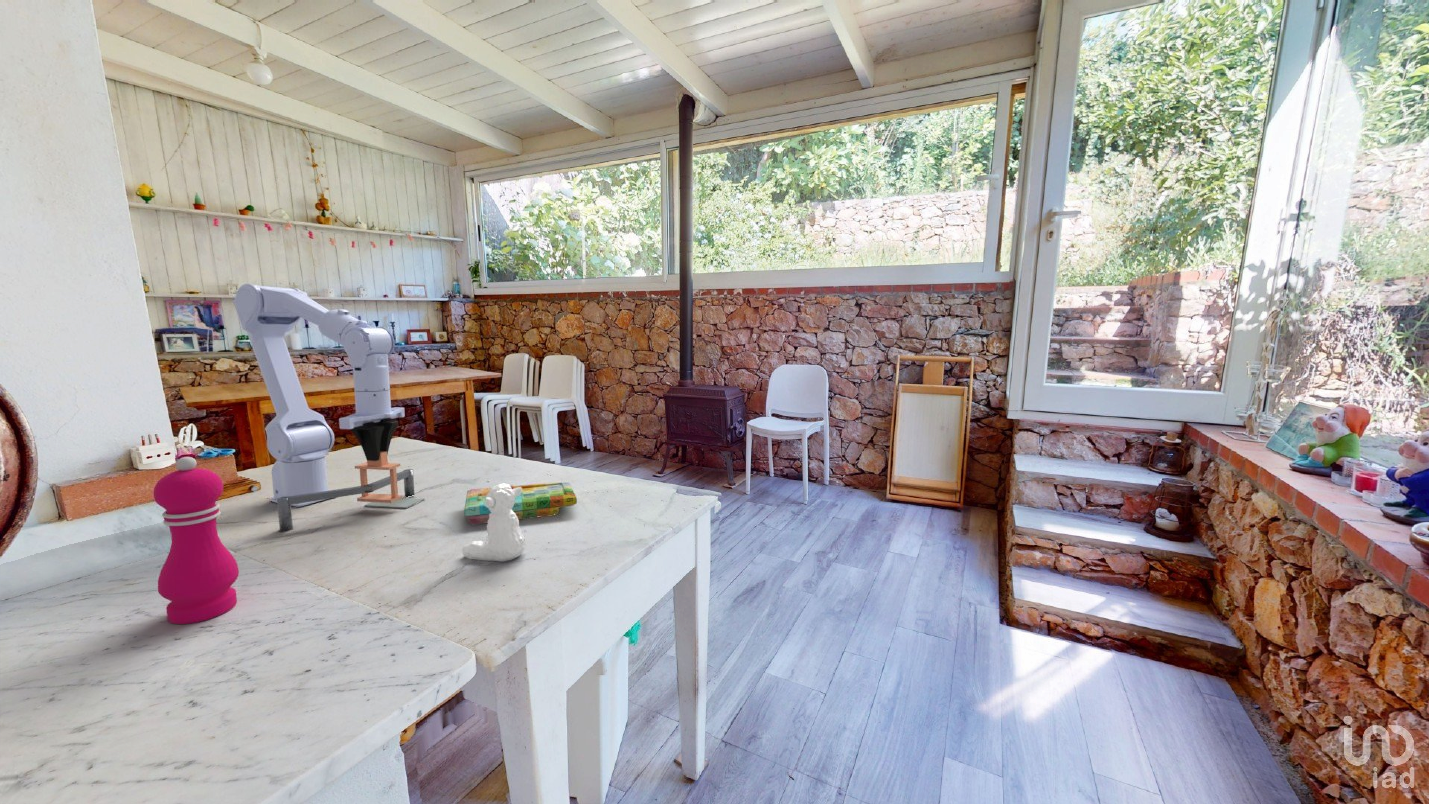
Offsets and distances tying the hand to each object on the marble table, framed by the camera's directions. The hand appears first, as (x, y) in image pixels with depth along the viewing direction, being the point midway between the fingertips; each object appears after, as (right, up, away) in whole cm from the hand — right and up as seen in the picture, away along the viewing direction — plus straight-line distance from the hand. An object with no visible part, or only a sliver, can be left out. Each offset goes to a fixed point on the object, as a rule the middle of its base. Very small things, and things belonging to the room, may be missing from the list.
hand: (376, 458), depth 101 cm
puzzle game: (+28, -11, +3) cm, 30 cm away
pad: (0, -10, +5) cm, 11 cm away
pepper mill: (+2, -16, -36) cm, 39 cm away
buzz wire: (-3, -10, 0) cm, 11 cm away
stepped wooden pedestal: (0, -8, +1) cm, 8 cm away
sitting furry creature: (+32, -14, -17) cm, 39 cm away
